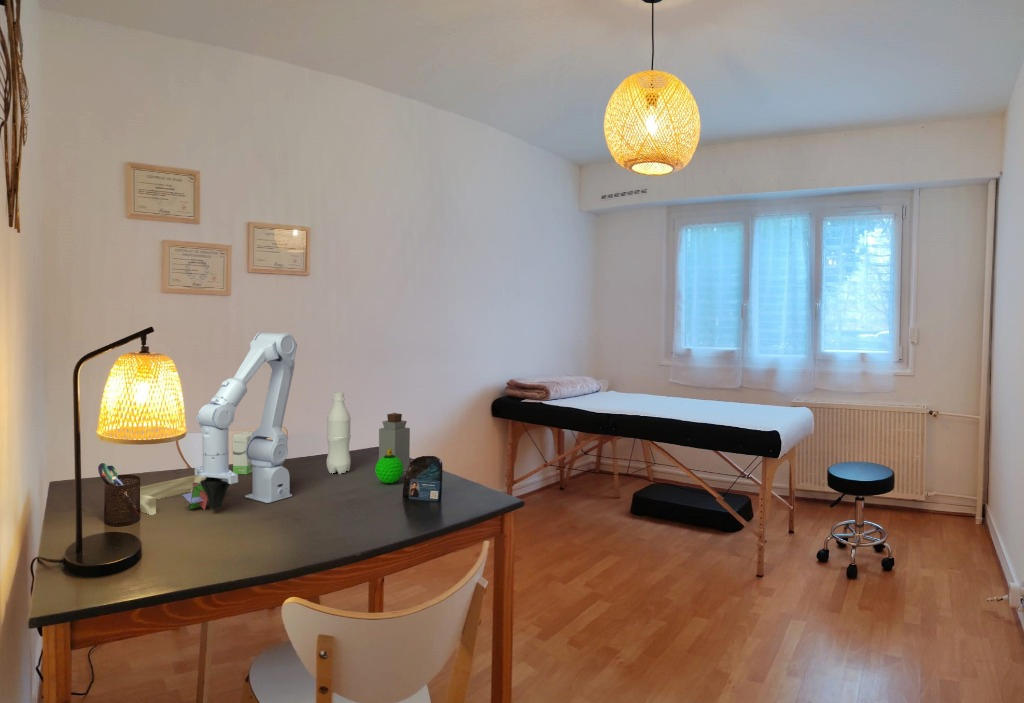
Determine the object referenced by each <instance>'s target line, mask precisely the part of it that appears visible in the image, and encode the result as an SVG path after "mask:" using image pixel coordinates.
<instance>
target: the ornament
mask: <svg viewBox="0 0 1024 703" xmlns="http://www.w3.org/2000/svg"><path fill="white" fill-rule="evenodd" d="M374 469H375V474H376V475H375V476H376V477H377V478H378V480H379V481H381V482H382V483H384V484H388V483H390V484H394V483H396V482H398V480H400V478H401V477H402V476H403V473H404V472H403V464H402V462H401V460H400V459H398V458H397V457H395V456H394V455H392V449H387V455H385V456H384V457H382V458H381V459H380V460H379V459H378V460H377V463H376V464H375V468H374ZM394 481H395V482H394Z"/></svg>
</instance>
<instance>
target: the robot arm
mask: <svg viewBox="0 0 1024 703" xmlns="http://www.w3.org/2000/svg"><path fill="white" fill-rule="evenodd" d="M249 347H250V349H249V351H248V353H247V355H245V357H244V359H243V361H242V363H241V365H240V366H239V368H238V369H237V371H236V373H235V375H234V376H233V377H231V378H227V379H225V380H223V381H222V383H221V386H220V387H219V389H218V390H217V392H216V393H215V395H214V396H213V397H212V398H211V399H210V402H209V403H206V404H205V405H203V406H202V407H201V408H200V409H199V411H198V415H196V418H195V419H196V421H197V424H198V425H199V426H200V433H201V436H202V465H201V466H195V467H194V475H197V476H198V475H199V477H206V479H205V480H202V481H200V484H201V485H202V486H203V488H204V490H205V492H206V494H207V497H208V500H207V501H208V503H209V504H208V505H209V507H210V509H212V510H217V509H221V508H222V507H223V503H224V499H225V495H226V492H227V490H228V488H229V486H230V485H233V484H236V483H239V474H235V473H233V470H231V469H229V468H230V467H229V464H230V463H229V460H230V459H229V457H230V456H229V428H230V426H231V425H232V424H233V423H234V420H235V413H236V409H237V407H238V406H239V405H240V403H241V401H242V400H243V398H244V396H246V393H247V392H248V387H247V384H248V383H249V381H250V380H252V378H253V377H254V375H255V374H256V373H257V372H258V370H259V369H260V368H261V366H262V365H263V364H265V363H267V364H268V365H269V366H270V369H271V373H270V379H269V384H268V388H267V394H266V398H265V401H264V408H263V412H262V415H261V416H262V417H261V421H260V426H258V427H257V428H256V429H255V430H253V432H252V435H251V439H250V441H249V442H248V444H247V446H246V456H247V458H248V459H249V460H250V464H252V472H251V473H252V475H251V476H252V481H251V482H252V485H251V486H252V488H251V489H252V493H250V494H246V495H244V496H245V498H246V499H250V500H254V501H258V502H261V503H265V504H270V503H273V502H277V501H280V500H284V499H286V498H291V497H292V496H293V494H292V493H290V487H291V486H290V477H291V476H290V472H289V470H288V469H287V468H286V467H284V466H283V464H284V462H285V460H286V459H287V456H288V453H289V451H288V450H289V449H288V440H289V437H288V435H287V434H286V433H285V432H284V431H283V430H282V428H283V424H284V419H285V416H286V415H285V414H286V409H287V403H288V400H289V399H288V398H289V394H290V390H291V385H292V380H293V376H294V370H295V365H296V364H295V358H296V352H297V348H298V343H297V342H296V340H295V338H294V336H293V335H292V334H290V332H289V333H288V332H280V333H279V332H265V331H261V332H258V333H256V335H254V337H253V339H252V340H251V341H250V342H249Z"/></svg>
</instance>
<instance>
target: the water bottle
mask: <svg viewBox="0 0 1024 703" xmlns="http://www.w3.org/2000/svg"><path fill="white" fill-rule="evenodd" d="M332 401H333V402H332V406H331V408H330V410H329V412H328V413H327V416H326V434H327V435H326V440H327V447H328V448H327V449H328V450H327V456H326V457H327V458H326V467H327V470H328V472H329V473H330V474H331V473H332V474H331V475H334V474H333V473H338V475H342V474H341V473H344V474H345V473H347V472H346V471H348V472H349V471H350V468H351V454H350V440H351V420H352V419H351V414H350V412H349V410H348V408H347V407H346V404H345V393H344V392H343V391H334V392H333V399H332Z"/></svg>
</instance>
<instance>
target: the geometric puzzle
mask: <svg viewBox="0 0 1024 703" xmlns="http://www.w3.org/2000/svg"><path fill="white" fill-rule="evenodd" d="M189 490H190V489H189ZM181 496H182V497H183V500H184V502H185V504H187V502H188V503H189V505H188V508H187V509H188V511H190V510H193V509H197V508H199V509H200V508H201V509H202V510H203V511H204V510H205V511H206V510H207V504H208V501H209V500H208V497H207V494H206V492H205V490H204V488H203V486H202V485H201V484H200V482H198V483H195V482H194V483H193V485H192V488H191V492H187V493H186V492H185V493H183V494H181ZM186 501H187V502H186Z"/></svg>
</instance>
